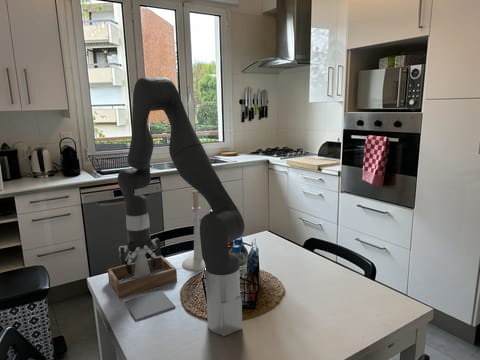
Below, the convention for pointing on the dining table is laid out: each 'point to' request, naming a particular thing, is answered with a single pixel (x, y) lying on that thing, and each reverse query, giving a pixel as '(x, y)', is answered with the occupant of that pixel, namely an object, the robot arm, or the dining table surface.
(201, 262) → the candlestick
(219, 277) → the robot arm
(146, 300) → the grey mat
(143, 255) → the salt shaker
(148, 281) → the frame
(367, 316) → the dining table surface
